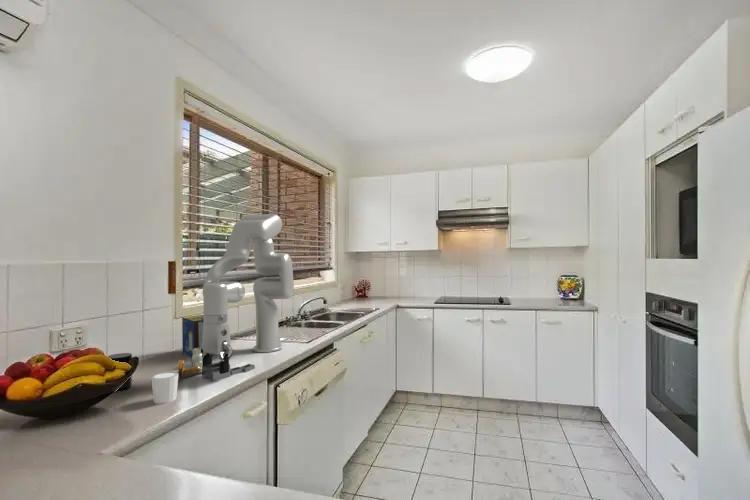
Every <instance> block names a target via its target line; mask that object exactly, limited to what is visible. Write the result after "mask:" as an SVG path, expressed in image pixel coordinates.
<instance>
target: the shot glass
mask: <svg viewBox="0 0 750 500" xmlns="http://www.w3.org/2000/svg"><path fill="white" fill-rule="evenodd" d="M176 372H177V371H176ZM176 372H174V371H170V372H161V373H157V374H155V375H152V376H151V377H150V378H151V379H150V380H151V387H152V388H151V389H152V397H153V403H154V404H157V405H159V404H160V405H162V404H168V403H171V402H174V401H176V399H177V394H178V384H179V381H178V373H176Z"/></svg>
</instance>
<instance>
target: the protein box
mask: <svg viewBox="0 0 750 500" xmlns="http://www.w3.org/2000/svg"><path fill="white" fill-rule="evenodd" d="M203 323H204V315H203V314H201V315H200V314H198V315H192V316H191V315H189V316H182V319H181V324H182V325H181V330H182V331H181V332H182V333H181V334H182V336H181V337H182V344H181V345H182V353H183V354H185V355H186V356H188V357H190V358H192V356H193V349H194V348H200V343H201V342H202V337H203V327H204V325H203ZM212 355H213V354H212ZM213 356H214V355H213Z"/></svg>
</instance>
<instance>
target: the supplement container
mask: <svg viewBox="0 0 750 500" xmlns="http://www.w3.org/2000/svg"><path fill="white" fill-rule="evenodd" d="M107 356H108V357H109V358H111V359H112V360H115V361H119V362H126V363H128V362H129V360H131V359H133V354H132V353H131V352H120V353H113V354H110V355H107ZM132 380H133V375H132V376H131V377H130V378H129V379H128V380H127V381H126V382H125V383H124V384H123V385H122V386H121V387H120V388H119V389H118V390H117V391H121V392H124V391H123V390H125V391H127V390H129V389H131V387H132V385H133V383H132V382H133V381H132ZM117 391H116V392H115V393H118V392H117Z"/></svg>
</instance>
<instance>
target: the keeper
mask: <svg viewBox="0 0 750 500" xmlns="http://www.w3.org/2000/svg"><path fill="white" fill-rule="evenodd" d="M177 362H178V363H177V365H178V367H177V368H178V369H177V371H176V373H178V382H179V381H182V380H187V379H190V378H192V377H193V378H194V377H197V376H202V368H201V367H200V366H196V367H193V366H192V367H189V368H185V359H180V360H178V361H177Z"/></svg>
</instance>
